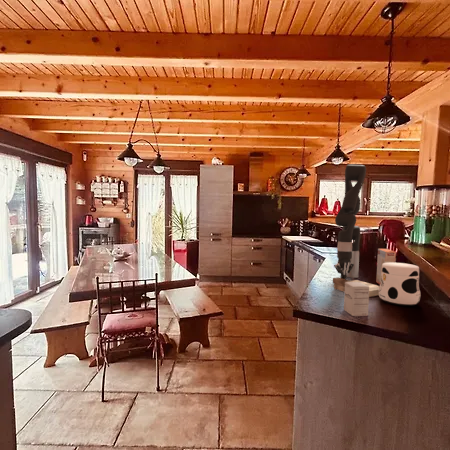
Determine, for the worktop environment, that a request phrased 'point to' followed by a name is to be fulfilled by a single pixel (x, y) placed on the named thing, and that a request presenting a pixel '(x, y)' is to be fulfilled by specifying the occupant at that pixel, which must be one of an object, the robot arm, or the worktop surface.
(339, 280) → the walnut leg
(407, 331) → the worktop surface
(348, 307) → the supplement box
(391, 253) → the cracker box
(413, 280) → the milk container
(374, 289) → the seat panel
